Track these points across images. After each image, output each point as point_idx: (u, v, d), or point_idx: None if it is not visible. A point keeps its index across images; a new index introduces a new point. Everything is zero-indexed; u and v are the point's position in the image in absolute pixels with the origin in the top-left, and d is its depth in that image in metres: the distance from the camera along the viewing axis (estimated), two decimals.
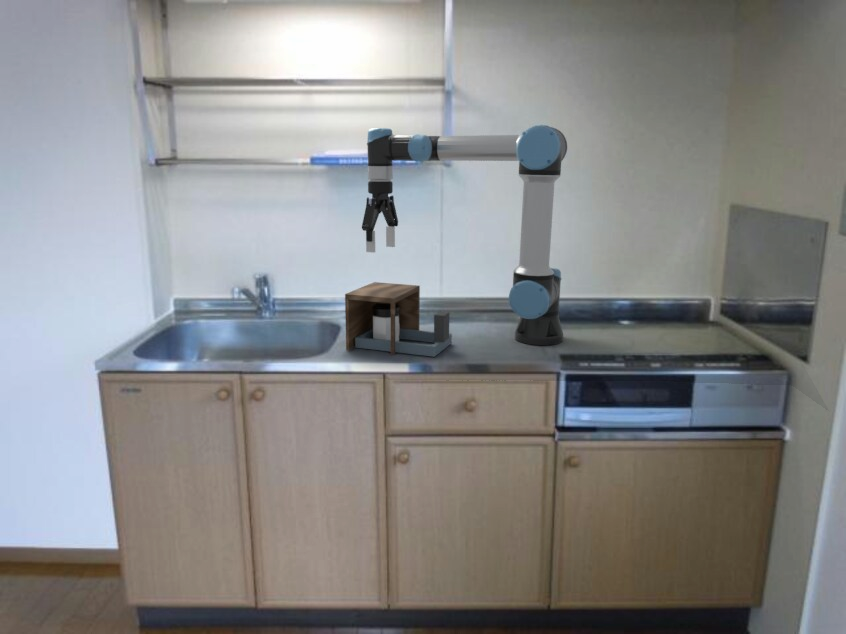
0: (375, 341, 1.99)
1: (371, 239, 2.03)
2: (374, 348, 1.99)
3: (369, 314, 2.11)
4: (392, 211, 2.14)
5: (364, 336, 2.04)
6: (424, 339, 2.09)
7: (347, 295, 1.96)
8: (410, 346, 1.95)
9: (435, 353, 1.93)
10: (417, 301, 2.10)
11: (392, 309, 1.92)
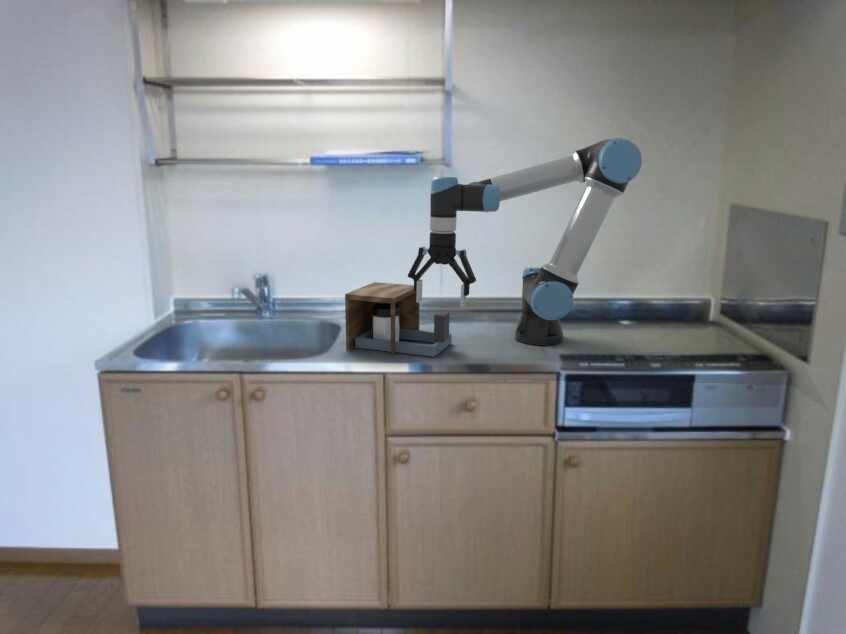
0: (375, 341, 1.99)
1: (416, 289, 1.98)
2: (374, 348, 1.99)
3: (369, 314, 2.11)
4: None
5: (364, 336, 2.04)
6: (424, 339, 2.09)
7: (347, 295, 1.96)
8: (410, 346, 1.95)
9: (435, 353, 1.93)
10: None
11: (392, 309, 1.92)
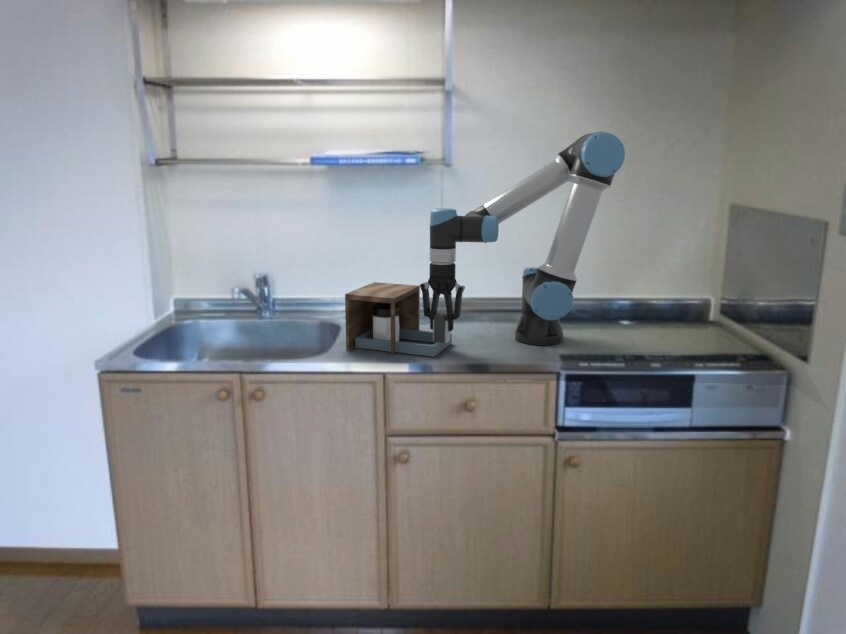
0: (375, 341, 1.99)
1: (433, 327, 1.99)
2: (374, 348, 1.99)
3: (369, 314, 2.11)
4: None
5: (364, 336, 2.04)
6: (424, 339, 2.09)
7: (347, 295, 1.96)
8: (410, 346, 1.95)
9: (435, 353, 1.93)
10: (417, 301, 2.10)
11: (392, 309, 1.92)
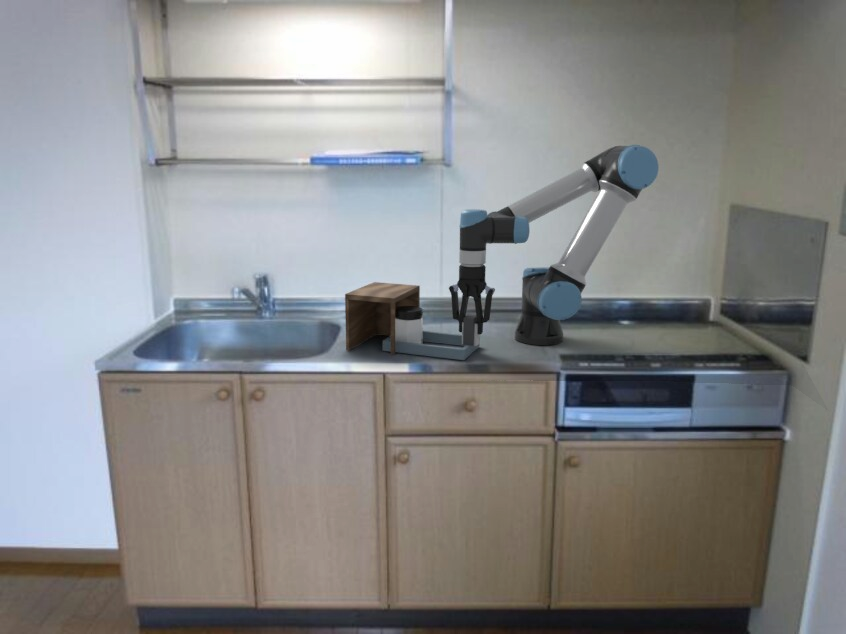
0: (403, 344, 1.96)
1: (462, 330, 1.96)
2: (402, 351, 1.96)
3: (369, 314, 2.11)
4: None
5: None
6: (451, 342, 2.05)
7: (347, 295, 1.96)
8: (439, 349, 1.92)
9: (465, 356, 1.90)
10: (417, 301, 2.10)
11: (392, 309, 1.92)
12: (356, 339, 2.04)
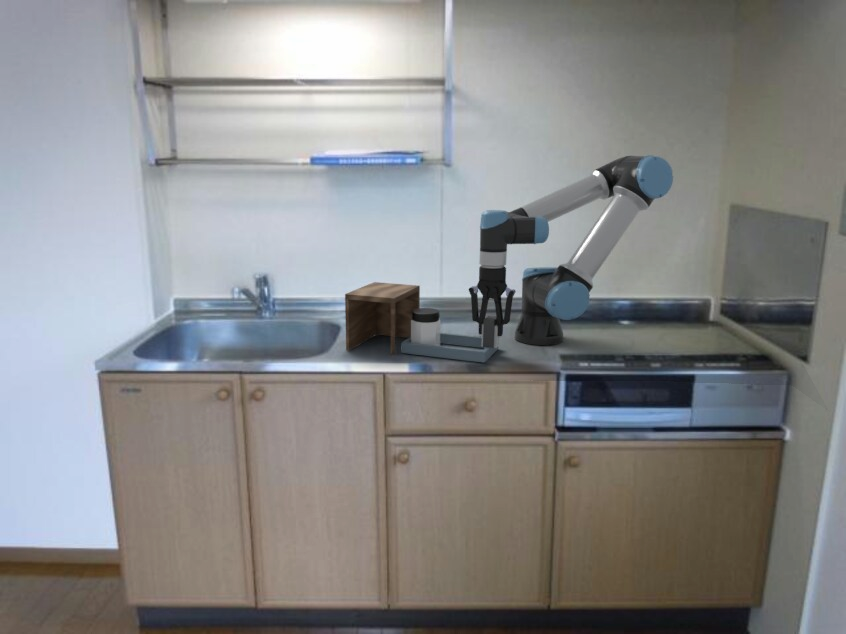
0: (422, 346, 1.94)
1: (481, 332, 1.94)
2: (421, 353, 1.94)
3: (369, 314, 2.11)
4: None
5: (409, 341, 1.99)
6: (470, 344, 2.03)
7: (347, 295, 1.96)
8: (459, 352, 1.90)
9: (485, 359, 1.88)
10: (417, 301, 2.10)
11: (392, 309, 1.92)
12: (356, 339, 2.04)
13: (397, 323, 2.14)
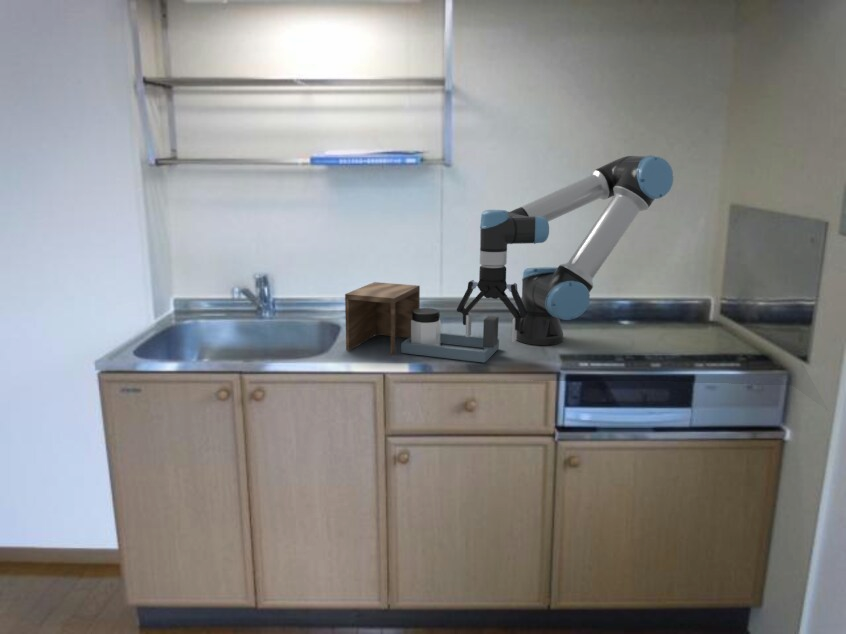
0: (422, 346, 1.94)
1: (466, 323, 1.95)
2: (421, 354, 1.94)
3: (369, 314, 2.11)
4: None
5: (410, 341, 1.99)
6: (470, 344, 2.03)
7: (347, 295, 1.96)
8: (459, 352, 1.90)
9: (485, 359, 1.88)
10: (417, 301, 2.10)
11: (392, 309, 1.92)
12: (356, 339, 2.04)
13: (397, 323, 2.14)
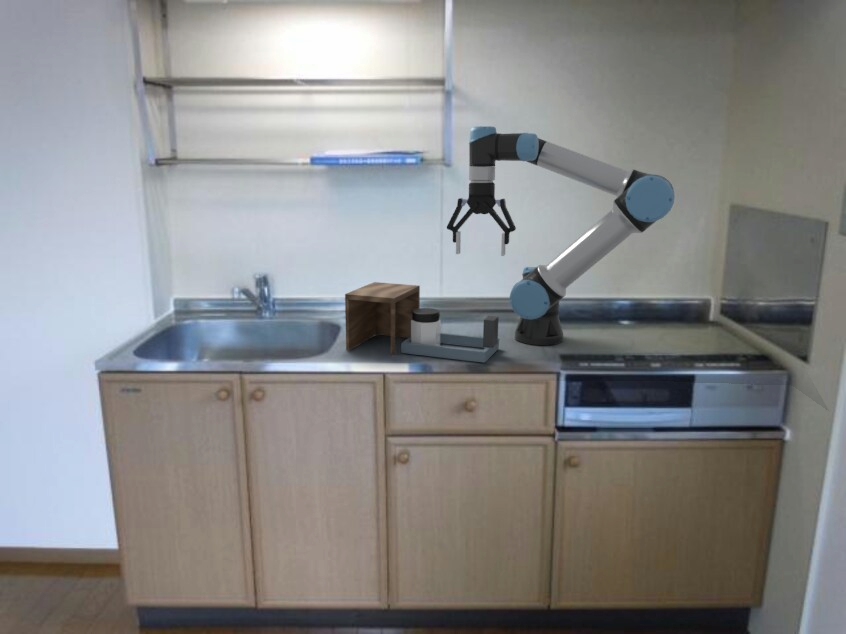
0: (422, 346, 1.94)
1: (456, 240, 2.00)
2: (421, 354, 1.94)
3: (369, 314, 2.11)
4: None
5: (410, 341, 1.99)
6: (470, 344, 2.03)
7: (347, 295, 1.96)
8: (459, 352, 1.90)
9: (485, 359, 1.88)
10: (417, 301, 2.10)
11: (392, 309, 1.92)
12: (356, 339, 2.04)
13: (397, 323, 2.14)
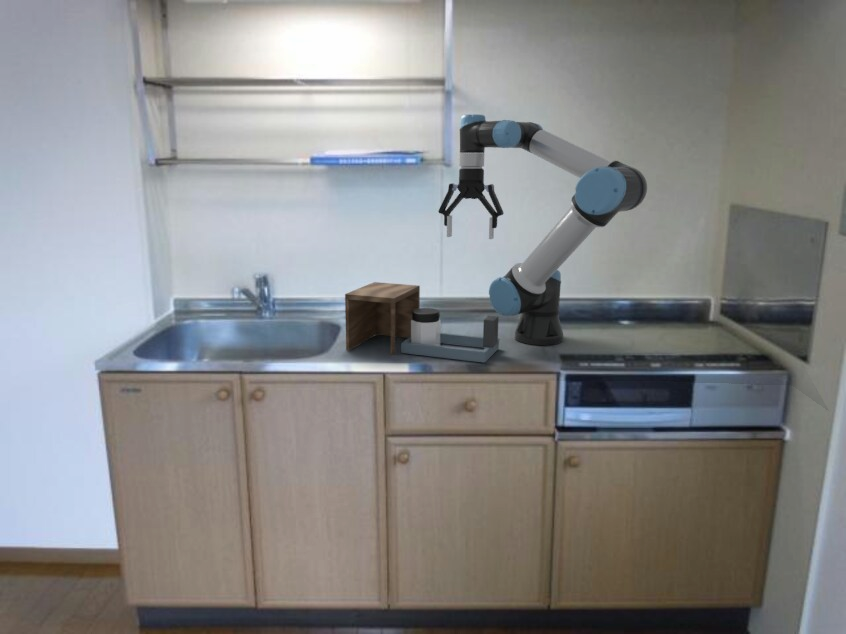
0: (422, 346, 1.94)
1: (447, 224, 2.10)
2: (421, 354, 1.94)
3: (369, 314, 2.11)
4: None
5: (410, 341, 1.99)
6: (470, 344, 2.03)
7: (347, 295, 1.96)
8: (459, 352, 1.90)
9: (485, 359, 1.88)
10: (417, 301, 2.10)
11: (392, 309, 1.92)
12: (356, 339, 2.04)
13: (397, 323, 2.14)
